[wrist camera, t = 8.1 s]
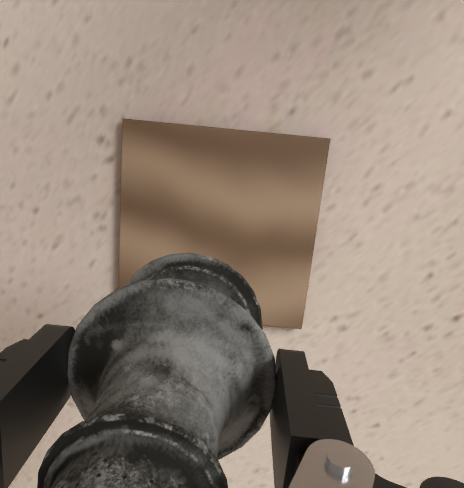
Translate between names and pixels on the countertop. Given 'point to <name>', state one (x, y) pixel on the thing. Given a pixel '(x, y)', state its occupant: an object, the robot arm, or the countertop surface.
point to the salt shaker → (165, 380)
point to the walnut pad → (224, 205)
